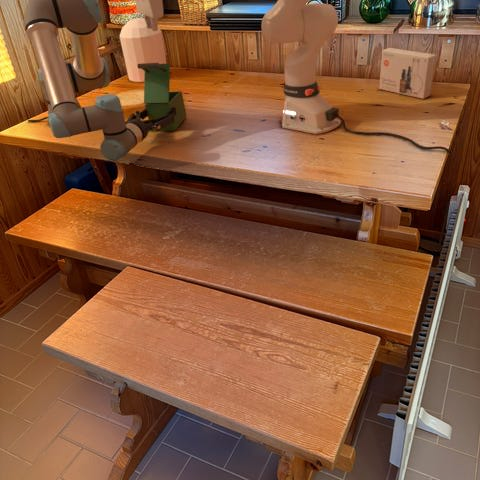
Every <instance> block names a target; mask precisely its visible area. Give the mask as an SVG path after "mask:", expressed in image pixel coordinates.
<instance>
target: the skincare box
mask: <svg viewBox="0 0 480 480" xmlns="http://www.w3.org/2000/svg"><path fill="white" fill-rule="evenodd" d="M436 57H437V54H435V53H427V52H423V51H422V52H420V51H413V50H407V49H400V48H395V47H394V48H393V47H387V48H385V49H382V50H381V61H380V74H379V86H378V87H379V88H378V89H379V90H383V91H387V92H391V93H395V94H399V95H405V96H409V97H414V98H418V99H422V100H424V99H426V98H428V97H430V96H431V91H432V86H433V85H432V84H433V78H434V73H435V72H434V71H435V70H434V69H435V64H436Z"/></svg>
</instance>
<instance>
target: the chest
mask: <svg viewBox="0 0 480 480" xmlns="http://www.w3.org/2000/svg"><path fill="white" fill-rule="evenodd" d="M144 107H145V108H146V111H147V115H148V116H147V120H149V119H151V118H152V119H156V118H158V117H161V116H164V115H166V113H167V112H168V111H170V110H171V109H172V108H173V107H175V108H176V114H177V115H175V117H174V119H175V122H174V123H172V124H170V125H168V126H166V127H164V128H162V129H161V130H160V131H159V132H173V131H174V132H175V131H176V130H177V129H178V128H179V127H180V125H181V124H182V123H183V122H184V121H185V120H186V119H187V117H188V116H187V111H186V106H185V101H184V97H183V92H182V90H176V91H169V103H158V104H144ZM151 123H152V122H151ZM150 132H157V131H156V129H153V130H151V131H150Z"/></svg>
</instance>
